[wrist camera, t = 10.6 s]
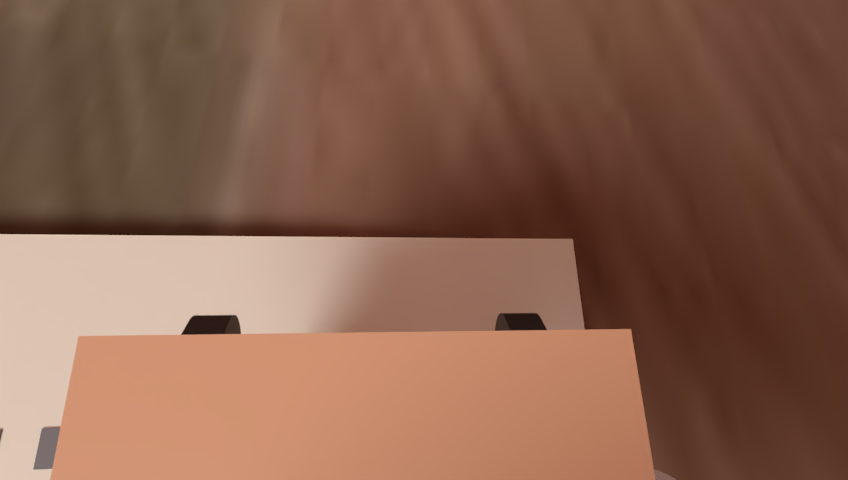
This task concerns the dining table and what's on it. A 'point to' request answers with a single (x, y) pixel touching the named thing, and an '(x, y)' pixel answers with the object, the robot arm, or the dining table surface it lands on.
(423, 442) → the tall salmon pink block
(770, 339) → the dining table surface
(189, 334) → the robot arm
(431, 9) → the dining table surface
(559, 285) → the board
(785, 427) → the dining table surface
